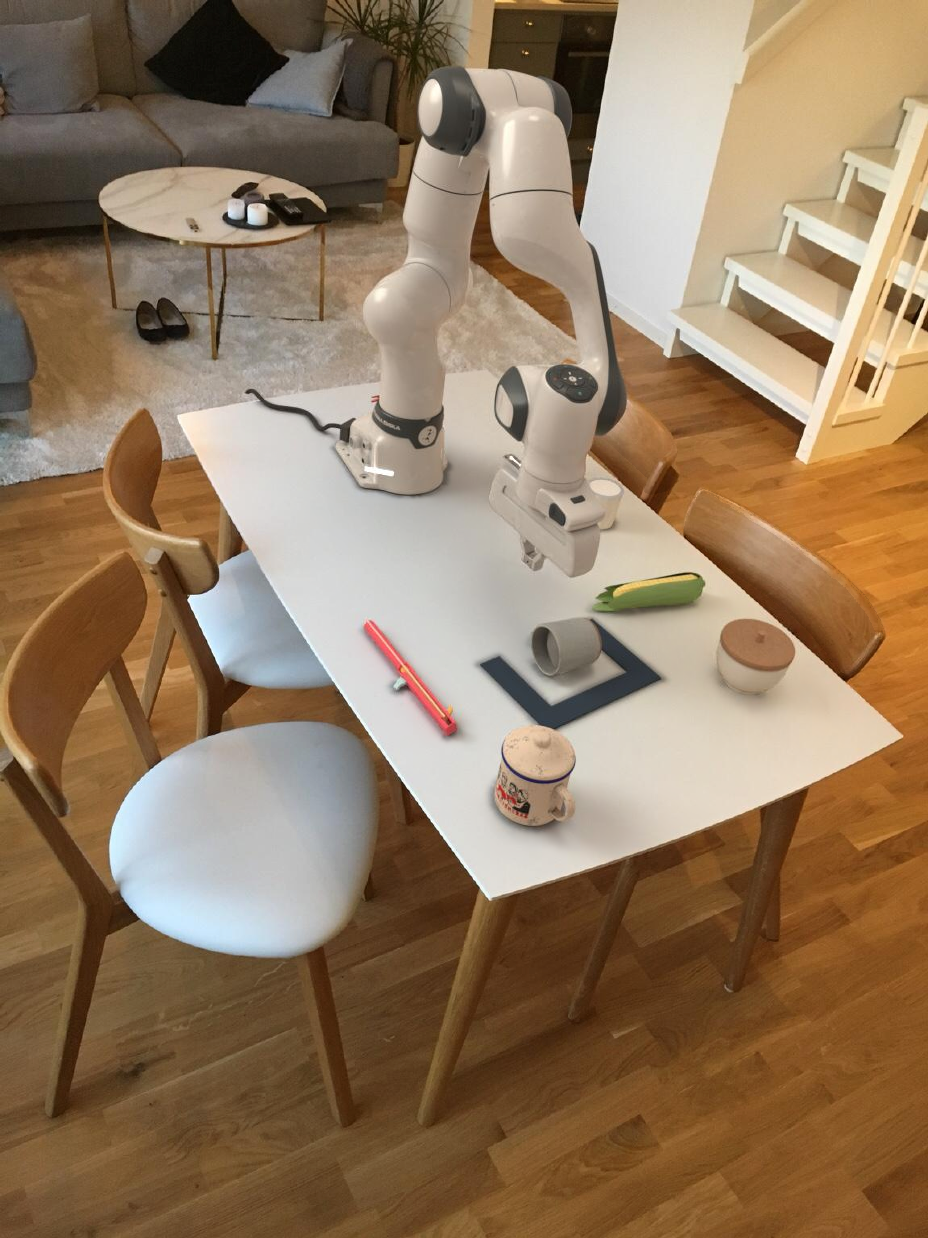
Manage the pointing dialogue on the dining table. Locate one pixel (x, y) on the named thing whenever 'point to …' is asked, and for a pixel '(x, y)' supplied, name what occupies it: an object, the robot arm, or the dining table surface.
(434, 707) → the red striped bar
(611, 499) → the white faceted cylinder
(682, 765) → the dining table surface
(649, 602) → the edible corn
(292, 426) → the dining table surface
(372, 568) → the dining table surface
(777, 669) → the trinket box
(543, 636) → the ceramic mug
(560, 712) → the dark grey flat piece
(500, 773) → the teacup with lid
